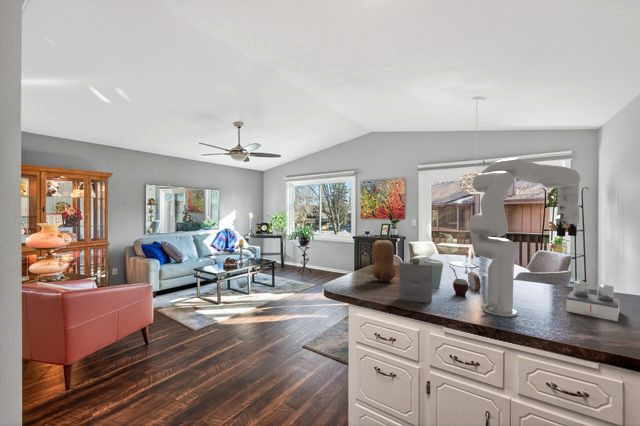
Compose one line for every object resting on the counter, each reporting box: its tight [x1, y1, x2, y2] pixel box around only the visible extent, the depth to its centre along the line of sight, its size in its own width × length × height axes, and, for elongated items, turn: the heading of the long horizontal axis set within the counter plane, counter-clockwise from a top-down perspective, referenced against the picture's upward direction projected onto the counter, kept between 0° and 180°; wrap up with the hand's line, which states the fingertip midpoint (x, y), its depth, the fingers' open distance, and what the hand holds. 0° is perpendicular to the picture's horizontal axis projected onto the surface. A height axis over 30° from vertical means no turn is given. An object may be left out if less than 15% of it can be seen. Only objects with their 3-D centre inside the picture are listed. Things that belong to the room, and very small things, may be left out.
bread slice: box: [467, 271, 482, 292], centre depth 167 cm, size 15×3×8 cm, turn 168°
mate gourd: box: [448, 265, 469, 298], centre depth 153 cm, size 8×8×15 cm
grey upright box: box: [398, 257, 433, 303], centre depth 145 cm, size 15×6×20 cm, turn 70°
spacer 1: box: [572, 280, 590, 298], centre depth 134 cm, size 5×5×6 cm
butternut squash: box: [372, 239, 397, 283], centre depth 180 cm, size 14×13×25 cm
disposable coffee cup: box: [423, 258, 444, 289], centre depth 169 cm, size 11×11×15 cm
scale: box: [565, 290, 621, 322], centre depth 130 cm, size 17×16×6 cm
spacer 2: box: [596, 283, 615, 302], centre depth 128 cm, size 5×5×6 cm
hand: (566, 236), depth 140 cm, fingers open, 9 cm apart
